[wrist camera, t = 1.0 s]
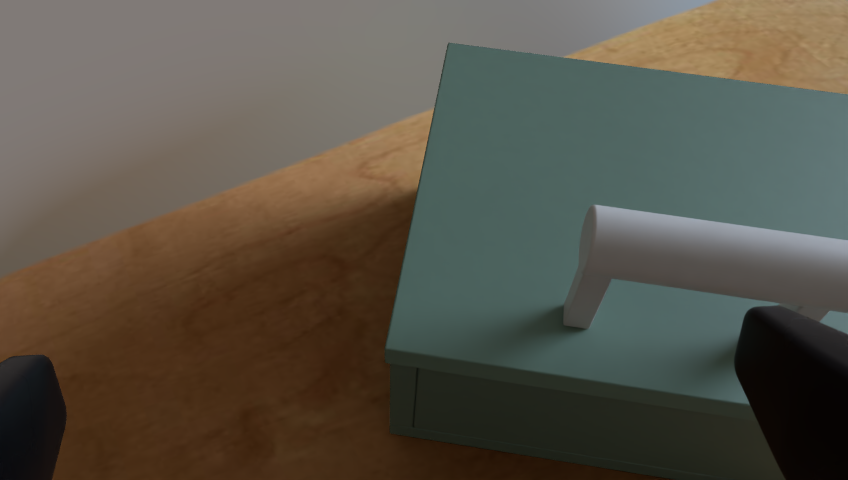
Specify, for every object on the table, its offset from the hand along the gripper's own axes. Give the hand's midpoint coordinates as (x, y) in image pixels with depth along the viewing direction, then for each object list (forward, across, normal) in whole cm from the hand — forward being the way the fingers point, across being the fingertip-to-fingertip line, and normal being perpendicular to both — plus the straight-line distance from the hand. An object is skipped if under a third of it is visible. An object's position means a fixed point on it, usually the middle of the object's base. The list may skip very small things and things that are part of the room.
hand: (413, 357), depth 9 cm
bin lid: (+11, -8, +4) cm, 15 cm away
